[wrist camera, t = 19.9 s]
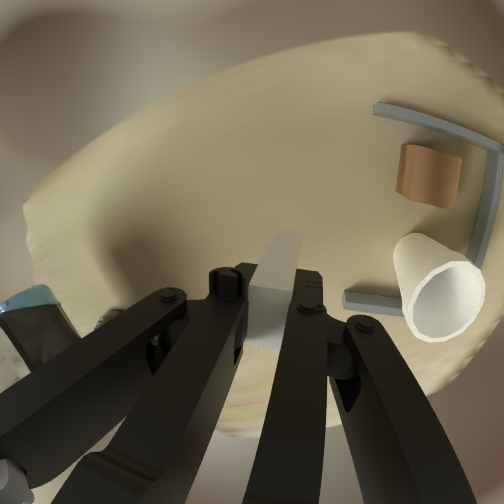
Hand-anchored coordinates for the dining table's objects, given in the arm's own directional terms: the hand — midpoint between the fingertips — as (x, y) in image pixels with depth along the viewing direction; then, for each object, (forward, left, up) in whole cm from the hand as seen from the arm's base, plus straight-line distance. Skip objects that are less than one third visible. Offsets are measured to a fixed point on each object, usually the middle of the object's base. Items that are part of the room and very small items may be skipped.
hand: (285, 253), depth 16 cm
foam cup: (+16, -6, -20) cm, 27 cm away
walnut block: (+15, +5, -20) cm, 26 cm away
